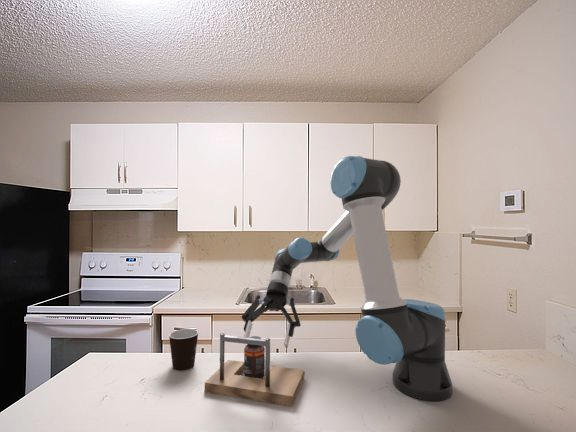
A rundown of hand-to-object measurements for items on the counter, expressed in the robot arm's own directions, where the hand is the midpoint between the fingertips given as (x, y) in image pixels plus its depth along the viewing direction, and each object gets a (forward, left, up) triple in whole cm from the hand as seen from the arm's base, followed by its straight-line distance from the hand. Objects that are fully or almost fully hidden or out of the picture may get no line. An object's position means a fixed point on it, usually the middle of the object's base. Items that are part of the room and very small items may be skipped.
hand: (265, 343), depth 99 cm
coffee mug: (+24, +7, -6) cm, 26 cm away
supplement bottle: (0, +9, -6) cm, 11 cm away
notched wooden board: (-2, +13, -6) cm, 14 cm away
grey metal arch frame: (0, +17, -4) cm, 17 cm away
